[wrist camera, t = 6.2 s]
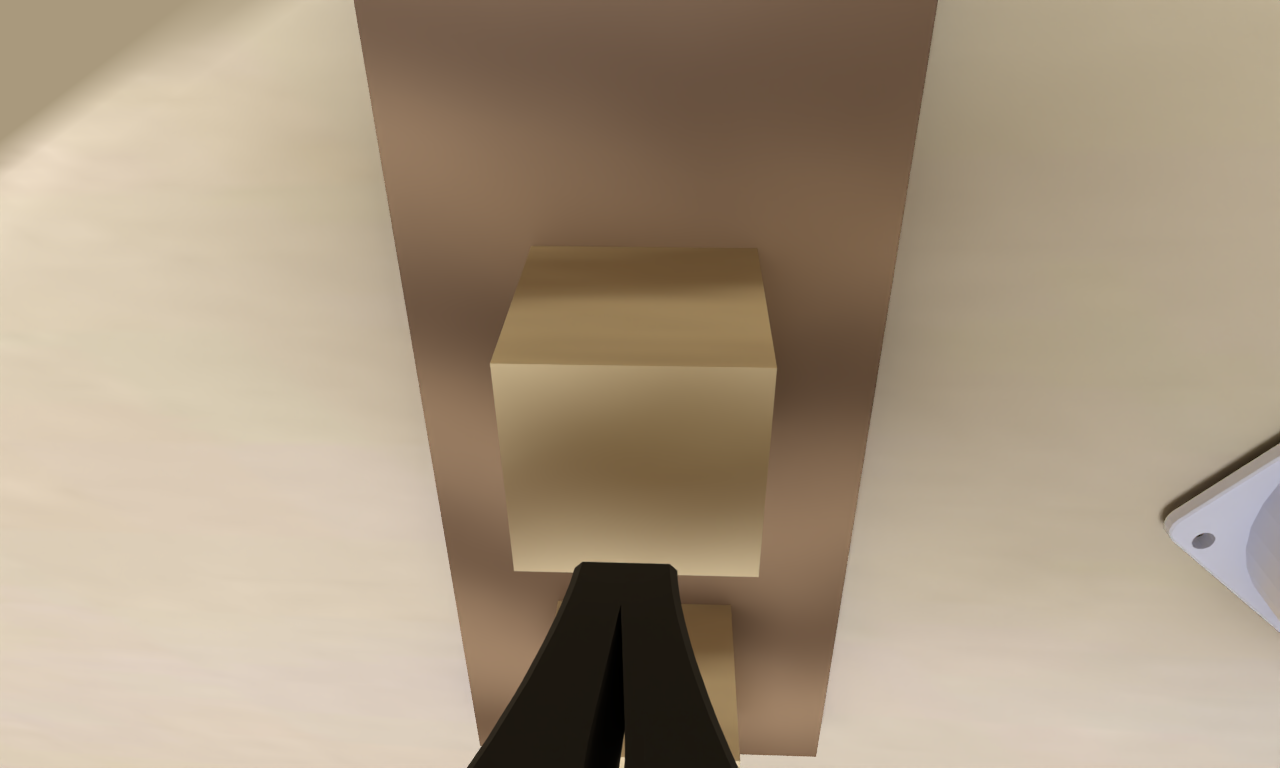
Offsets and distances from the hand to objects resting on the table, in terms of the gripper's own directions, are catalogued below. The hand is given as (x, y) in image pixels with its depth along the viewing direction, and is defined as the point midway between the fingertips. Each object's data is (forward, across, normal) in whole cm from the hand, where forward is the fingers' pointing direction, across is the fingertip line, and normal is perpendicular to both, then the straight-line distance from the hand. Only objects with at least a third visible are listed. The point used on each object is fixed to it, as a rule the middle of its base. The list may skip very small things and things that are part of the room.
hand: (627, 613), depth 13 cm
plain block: (+8, 0, 0) cm, 8 cm away
